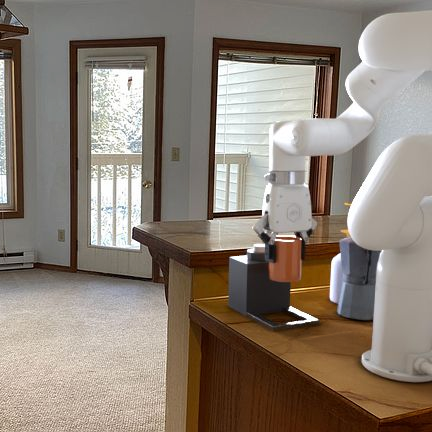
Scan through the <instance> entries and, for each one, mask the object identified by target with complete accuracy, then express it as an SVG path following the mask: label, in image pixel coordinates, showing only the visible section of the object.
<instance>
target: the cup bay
mask: <svg viewBox="0 0 432 432" xmlns="http://www.w3.org/2000/svg"><path fill="white" fill-rule="evenodd" d="M282 312H284V313H286V314H288V315H290V316H292V317H294V318H295V319H298V321H297V320H296V321H292V322H291V321H290V322H283V323H279V324H278V323H276V322H274V321H273V320H271V319H270V318H267V317H265V316H263V315H262V314H258V313H256V312H254V311H253V312H246V316H245V317H247V318H248V319H250V320H251V321H254V322H256V323H257V324H259V325H261V326H263V327H265V328H266V329H268V330H270V331H272V332H277V331H282V330H289V329H295V328H304V327H309V326H317V325H320V319H318V318H316V317H314V316H311V315H309V314H307V313H305V312H303V311H301V310H299V309H296V308H294V307H292V306H290V307H283V311H282Z"/></svg>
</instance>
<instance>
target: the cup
mask: <svg viewBox="0 0 432 432" xmlns="http://www.w3.org/2000/svg"><path fill="white" fill-rule="evenodd" d="M274 245H276V262H275V263H270V262H269V279H271V280H273V281H278V282H291V283H296V282H299V281H301V279H302V260H301V258H302V238H300V237H296V236H295V235H277V237H276V240H275V242H274Z"/></svg>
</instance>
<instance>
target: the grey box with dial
mask: <svg viewBox="0 0 432 432" xmlns="http://www.w3.org/2000/svg"><path fill="white" fill-rule="evenodd" d="M228 259H229V260H228V262H229V263H228V301H227V303H228V305H227V306H228V308H230V309H233V310H234V311H236V312H238V313H239V314H241V315H243V316H245V317H247V316H246V312H253V311H254V312H256V313H258V314H260V315H264V314H272V313H279V312H280V313H281V312H283V307H291V291H292V290H291V289H292V288H291V287H292V285H291V284H292V282H278V281H273V280H271V279H269V262H267V261H266V260H265V253H258V252H254V248H249V249H247V250H246V255H239V256H238V255H237V256H229V258H228Z"/></svg>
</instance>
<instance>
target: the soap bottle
mask: <svg viewBox="0 0 432 432" xmlns="http://www.w3.org/2000/svg"><path fill="white" fill-rule="evenodd" d="M351 205H352V203H348V202H344V206H348V207H350V208H351ZM340 233H343V234H346V237H347V238H349V237H351V236H350V234H349V231H348V229H341V230H340ZM330 266H331V268H330V284H329V285H330V286H329V299H330V302H333V303H335V304H337V305H338V304H339V299H340V294H341V290H342V284H343V282H344V280H343V272H342V266H341V252H340V253H338V254H337V255H335V256H334V257H333V258H332V260H331V265H330Z"/></svg>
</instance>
